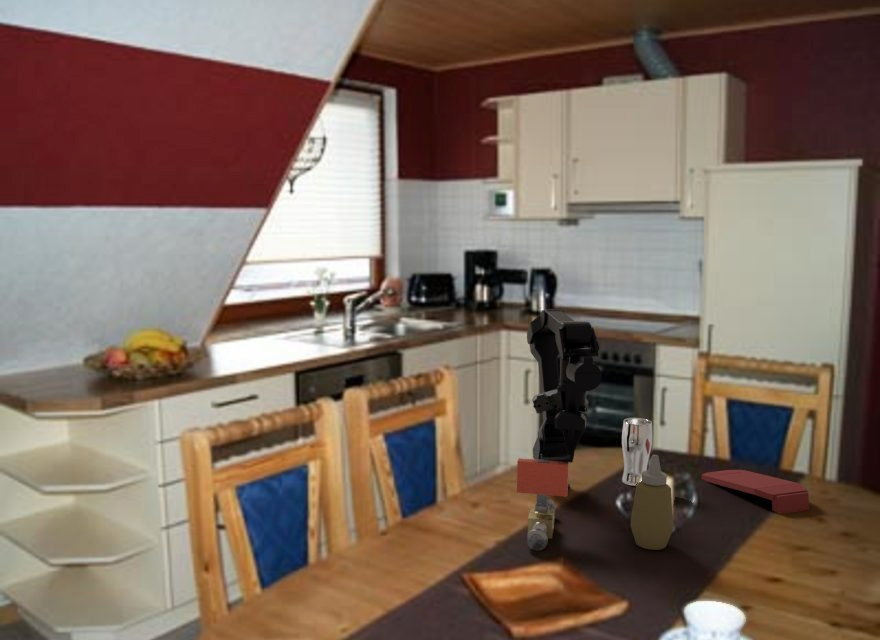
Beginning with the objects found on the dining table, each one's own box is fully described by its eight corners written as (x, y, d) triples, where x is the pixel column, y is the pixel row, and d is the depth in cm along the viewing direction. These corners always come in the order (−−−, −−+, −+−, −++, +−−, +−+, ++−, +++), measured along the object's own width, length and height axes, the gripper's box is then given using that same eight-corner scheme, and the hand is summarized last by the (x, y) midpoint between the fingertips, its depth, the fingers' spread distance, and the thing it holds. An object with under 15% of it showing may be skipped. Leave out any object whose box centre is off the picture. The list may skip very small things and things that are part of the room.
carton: (699, 493, 195) (771, 515, 171) (698, 473, 195) (770, 492, 171) (740, 488, 199) (816, 509, 175) (739, 468, 199) (815, 487, 175)
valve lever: (517, 508, 162) (518, 457, 161) (566, 513, 160) (568, 461, 159) (516, 512, 160) (517, 459, 159) (566, 516, 158) (568, 463, 157)
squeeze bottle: (662, 557, 150) (667, 465, 147) (622, 545, 155) (626, 456, 152) (678, 543, 156) (683, 454, 154) (639, 532, 161) (643, 446, 159)
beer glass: (647, 477, 194) (650, 418, 192) (652, 487, 187) (655, 425, 185) (618, 476, 195) (620, 417, 193) (621, 486, 188) (624, 424, 186)
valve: (533, 514, 170) (534, 496, 170) (556, 516, 169) (556, 498, 168) (524, 549, 153) (524, 529, 152) (549, 551, 152) (549, 531, 151)
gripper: (539, 369, 180) (537, 436, 183) (531, 387, 162) (529, 461, 164) (589, 372, 178) (586, 439, 180) (586, 390, 160) (583, 465, 162)
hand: (570, 451), depth 172 cm, fingers open, 5 cm apart
